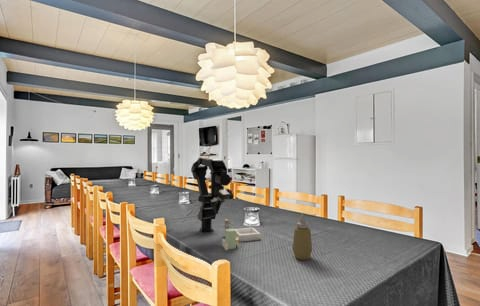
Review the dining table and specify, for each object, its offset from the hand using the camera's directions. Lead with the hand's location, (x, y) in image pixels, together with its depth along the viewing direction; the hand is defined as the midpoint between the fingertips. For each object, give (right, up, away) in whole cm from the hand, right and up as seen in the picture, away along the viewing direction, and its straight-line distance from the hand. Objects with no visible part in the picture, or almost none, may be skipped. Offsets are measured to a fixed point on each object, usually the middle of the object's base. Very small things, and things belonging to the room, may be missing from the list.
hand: (216, 214), depth 140 cm
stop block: (+8, -12, -15) cm, 21 cm away
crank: (+8, -10, -5) cm, 14 cm away
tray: (+15, -12, 0) cm, 19 cm away
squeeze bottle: (+38, -12, -27) cm, 48 cm away
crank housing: (+8, -12, -11) cm, 18 cm away
